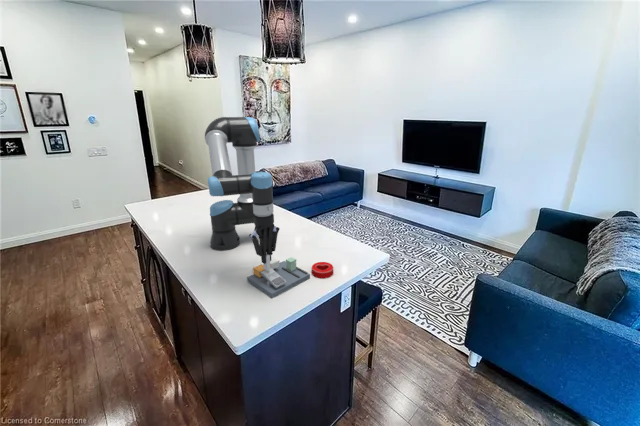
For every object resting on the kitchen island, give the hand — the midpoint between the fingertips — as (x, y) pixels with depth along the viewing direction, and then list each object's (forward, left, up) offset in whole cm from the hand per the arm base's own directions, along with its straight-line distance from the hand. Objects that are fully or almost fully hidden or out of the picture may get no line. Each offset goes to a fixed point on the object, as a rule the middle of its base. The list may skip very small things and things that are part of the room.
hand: (267, 269), depth 118 cm
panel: (+1, +5, -7) cm, 9 cm away
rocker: (+4, 0, -2) cm, 4 cm away
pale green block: (+1, +12, -5) cm, 13 cm away
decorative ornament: (+10, +22, -7) cm, 25 cm away
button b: (-5, +6, -3) cm, 8 cm away
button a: (-5, 0, -4) cm, 6 cm away
